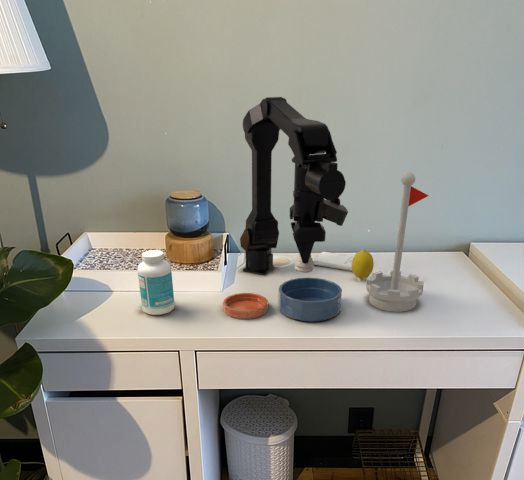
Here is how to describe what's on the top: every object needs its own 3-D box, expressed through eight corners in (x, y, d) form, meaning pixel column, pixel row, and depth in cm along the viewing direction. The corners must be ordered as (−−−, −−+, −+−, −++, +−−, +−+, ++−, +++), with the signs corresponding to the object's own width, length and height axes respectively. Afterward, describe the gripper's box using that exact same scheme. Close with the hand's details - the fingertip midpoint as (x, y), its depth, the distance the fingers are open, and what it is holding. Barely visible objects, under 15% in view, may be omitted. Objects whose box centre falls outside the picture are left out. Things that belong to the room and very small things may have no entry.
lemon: (358, 285, 141) (361, 255, 137) (346, 277, 146) (348, 248, 142) (376, 281, 144) (379, 251, 140) (363, 274, 148) (366, 245, 144)
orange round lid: (215, 313, 126) (214, 305, 125) (237, 297, 134) (236, 289, 133) (254, 323, 122) (254, 314, 121) (275, 305, 130) (275, 297, 129)
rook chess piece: (314, 266, 126) (316, 231, 122) (313, 273, 122) (315, 238, 118) (294, 265, 126) (295, 231, 122) (293, 272, 122) (294, 237, 118)
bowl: (268, 314, 126) (268, 294, 123) (293, 292, 137) (294, 273, 135) (327, 328, 120) (328, 307, 118) (348, 303, 131) (350, 284, 129)
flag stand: (375, 315, 126) (390, 180, 111) (357, 292, 137) (369, 166, 122) (429, 311, 128) (451, 178, 113) (408, 289, 139) (425, 165, 124)
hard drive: (322, 256, 160) (365, 262, 155) (312, 265, 153) (356, 272, 149) (323, 250, 159) (365, 257, 155) (313, 259, 153) (357, 266, 148)
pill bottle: (180, 305, 130) (176, 249, 124) (165, 318, 124) (160, 260, 118) (151, 300, 132) (146, 246, 126) (136, 313, 126) (129, 256, 120)
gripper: (353, 200, 107) (347, 276, 115) (340, 178, 123) (335, 246, 131) (296, 200, 107) (293, 276, 115) (290, 178, 123) (288, 246, 131)
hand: (304, 260), depth 123 cm, fingers closed on rook chess piece, 3 cm apart
